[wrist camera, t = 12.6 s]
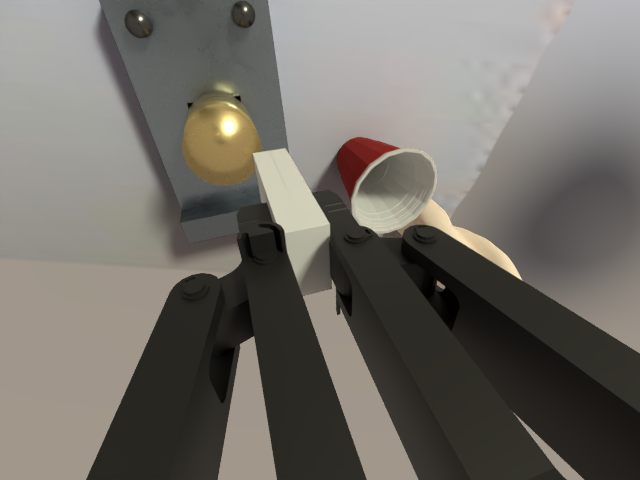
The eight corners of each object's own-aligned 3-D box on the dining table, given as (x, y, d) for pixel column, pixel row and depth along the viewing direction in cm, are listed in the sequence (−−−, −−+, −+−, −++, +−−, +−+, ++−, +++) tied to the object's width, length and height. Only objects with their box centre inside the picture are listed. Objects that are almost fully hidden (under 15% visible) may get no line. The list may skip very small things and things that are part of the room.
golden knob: (178, 92, 33) (169, 116, 25) (242, 83, 35) (254, 104, 26) (198, 153, 37) (196, 192, 29) (254, 144, 39) (268, 178, 30)
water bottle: (375, 222, 52) (497, 372, 30) (412, 179, 49) (577, 310, 27) (411, 245, 58) (537, 386, 36) (447, 208, 55) (607, 335, 33)
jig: (104, -8, 28) (83, -13, 23) (260, -20, 31) (269, -26, 26) (190, 218, 42) (188, 243, 38) (291, 197, 45) (301, 218, 40)
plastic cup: (351, 206, 49) (386, 251, 39) (304, 162, 42) (332, 203, 33) (405, 154, 46) (455, 190, 37) (363, 100, 40) (411, 125, 31)
